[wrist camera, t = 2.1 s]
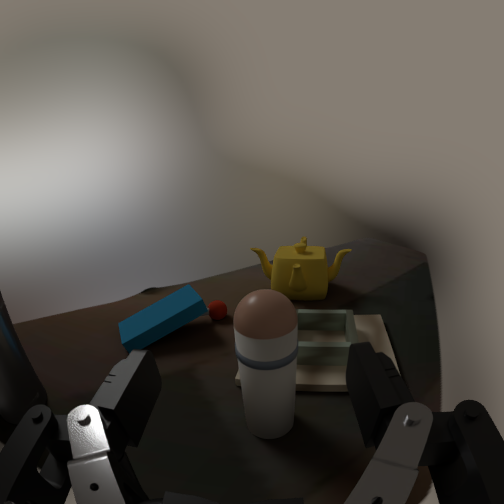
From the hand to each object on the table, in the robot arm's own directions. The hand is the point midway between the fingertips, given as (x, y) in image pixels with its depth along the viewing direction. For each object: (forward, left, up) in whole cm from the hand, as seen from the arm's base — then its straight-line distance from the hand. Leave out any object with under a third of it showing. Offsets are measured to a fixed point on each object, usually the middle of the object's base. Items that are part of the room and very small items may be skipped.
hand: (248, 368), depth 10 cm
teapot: (0, +43, -17) cm, 47 cm away
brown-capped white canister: (-1, +10, -17) cm, 20 cm away
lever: (-20, +26, -18) cm, 37 cm away
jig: (+4, +23, -17) cm, 29 cm away
